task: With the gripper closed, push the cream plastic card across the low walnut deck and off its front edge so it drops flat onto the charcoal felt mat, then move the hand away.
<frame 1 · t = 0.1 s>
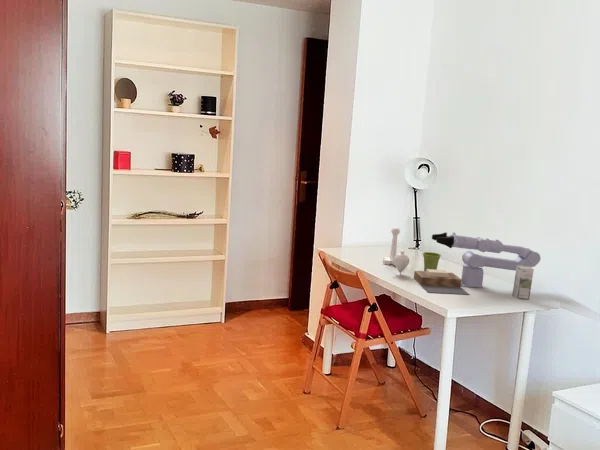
hand: (434, 238, 293), 22 cm above the table, tool horizontal, fingers open, 7 cm apart
plant pot: (430, 270, 324), on the table
deck: (436, 283, 297), on the table
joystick: (389, 264, 332), on the table
mat: (444, 290, 285), on the table
card: (436, 275, 296), point 4 cm above the table, touching deck
syrup box: (520, 298, 282), on the table
spinning top: (400, 274, 309), on the table
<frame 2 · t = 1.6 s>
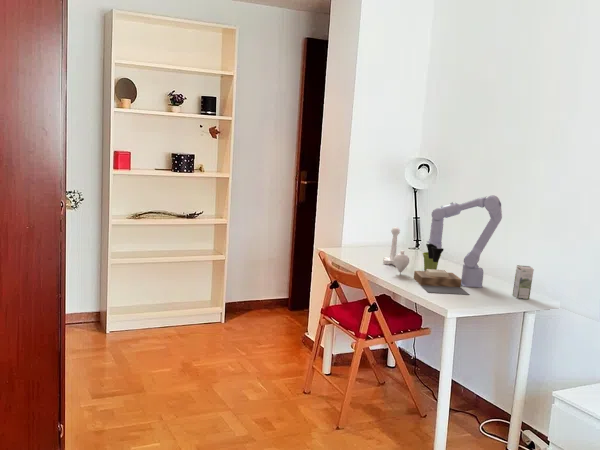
hand: (433, 260, 303), 9 cm above the table, tool pointing down, fingers open, 7 cm apart
nothing on the table moved.
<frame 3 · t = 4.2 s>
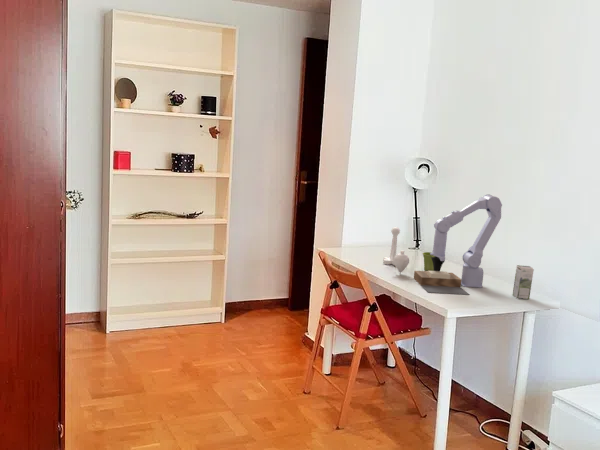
hand: (436, 272, 297), 5 cm above the table, tool pointing down, fingers closed
card: (438, 276, 293), point 4 cm above the table
everything else where it was.
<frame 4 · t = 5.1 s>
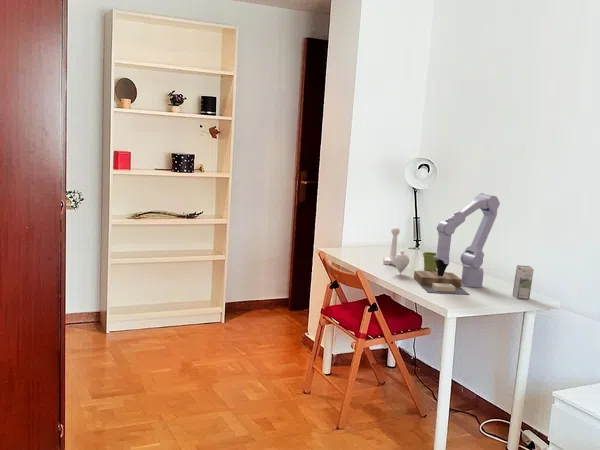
hand: (440, 275, 291), 5 cm above the table, tool pointing down, fingers closed
card: (443, 285, 285), point 2 cm above the table, tilted 180°, touching mat
everything else where it was.
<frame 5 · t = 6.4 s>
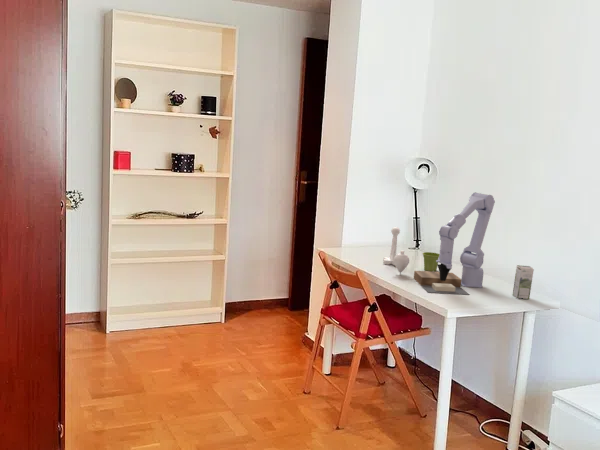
hand: (442, 280, 287), 4 cm above the table, tool pointing down, fingers closed
nothing on the table moved.
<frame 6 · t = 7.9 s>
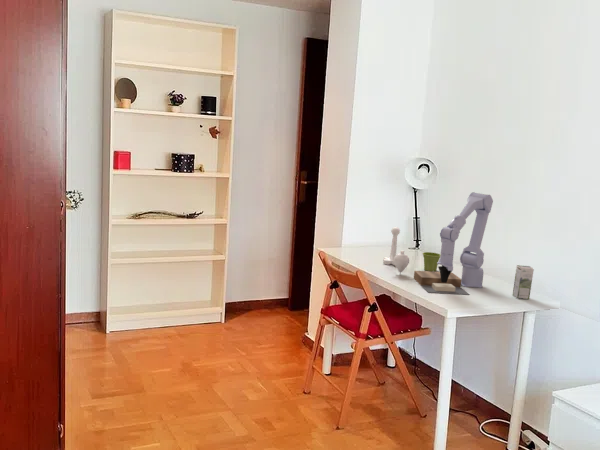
hand: (443, 282, 285), 3 cm above the table, tool pointing down, fingers closed
nothing on the table moved.
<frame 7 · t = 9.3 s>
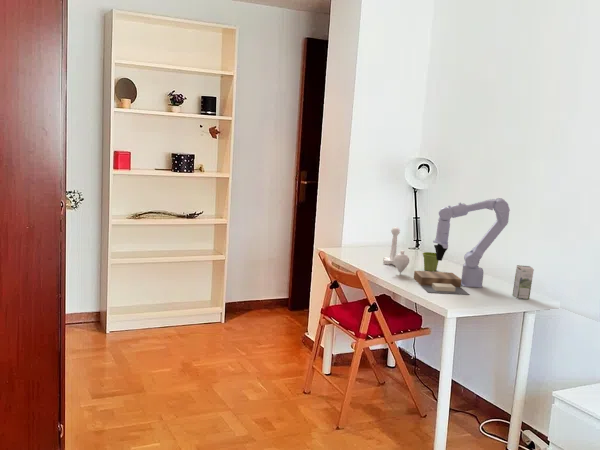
hand: (439, 260, 299), 10 cm above the table, tool pointing down, fingers closed
nothing on the table moved.
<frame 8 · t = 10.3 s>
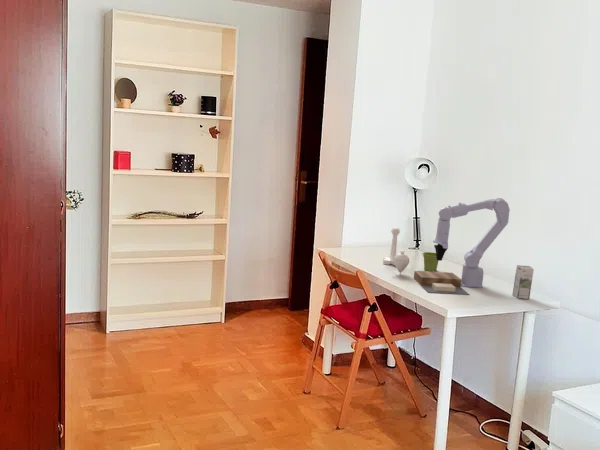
hand: (439, 260, 299), 10 cm above the table, tool pointing down, fingers closed
nothing on the table moved.
at the end: card point 2.3 cm above the table; card inside the target area on the mat (0.9 cm from its centre), point 2.3 cm above the mat's base; card touching mat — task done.
